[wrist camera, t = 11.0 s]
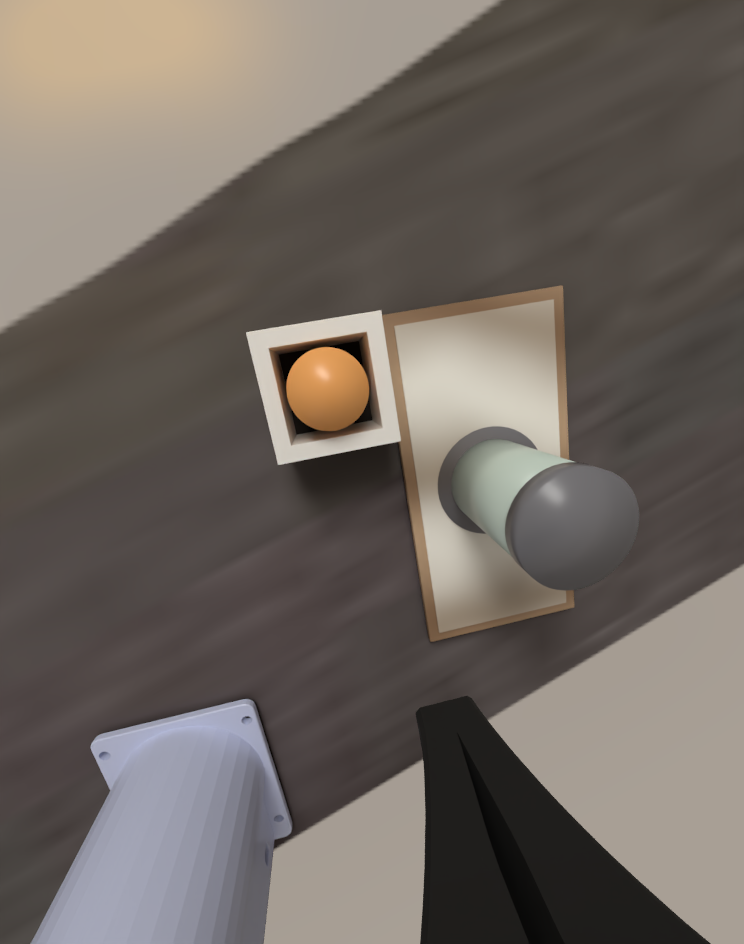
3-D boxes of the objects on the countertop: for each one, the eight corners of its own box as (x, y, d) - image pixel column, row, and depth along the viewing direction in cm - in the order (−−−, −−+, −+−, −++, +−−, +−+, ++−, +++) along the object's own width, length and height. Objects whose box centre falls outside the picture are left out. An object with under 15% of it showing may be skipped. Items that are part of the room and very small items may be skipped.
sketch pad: (569, 602, 20) (576, 609, 20) (428, 636, 20) (431, 644, 19) (557, 287, 16) (565, 284, 16) (378, 317, 16) (380, 314, 15)
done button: (365, 415, 16) (375, 423, 13) (301, 427, 16) (296, 437, 13) (354, 348, 15) (361, 340, 12) (286, 360, 15) (277, 354, 12)
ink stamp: (535, 513, 18) (636, 575, 12) (454, 529, 18) (520, 602, 12) (531, 430, 17) (641, 456, 11) (446, 446, 17) (514, 481, 11)
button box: (387, 431, 17) (401, 440, 14) (286, 450, 16) (278, 465, 13) (370, 323, 16) (381, 310, 13) (260, 341, 15) (245, 332, 12)
